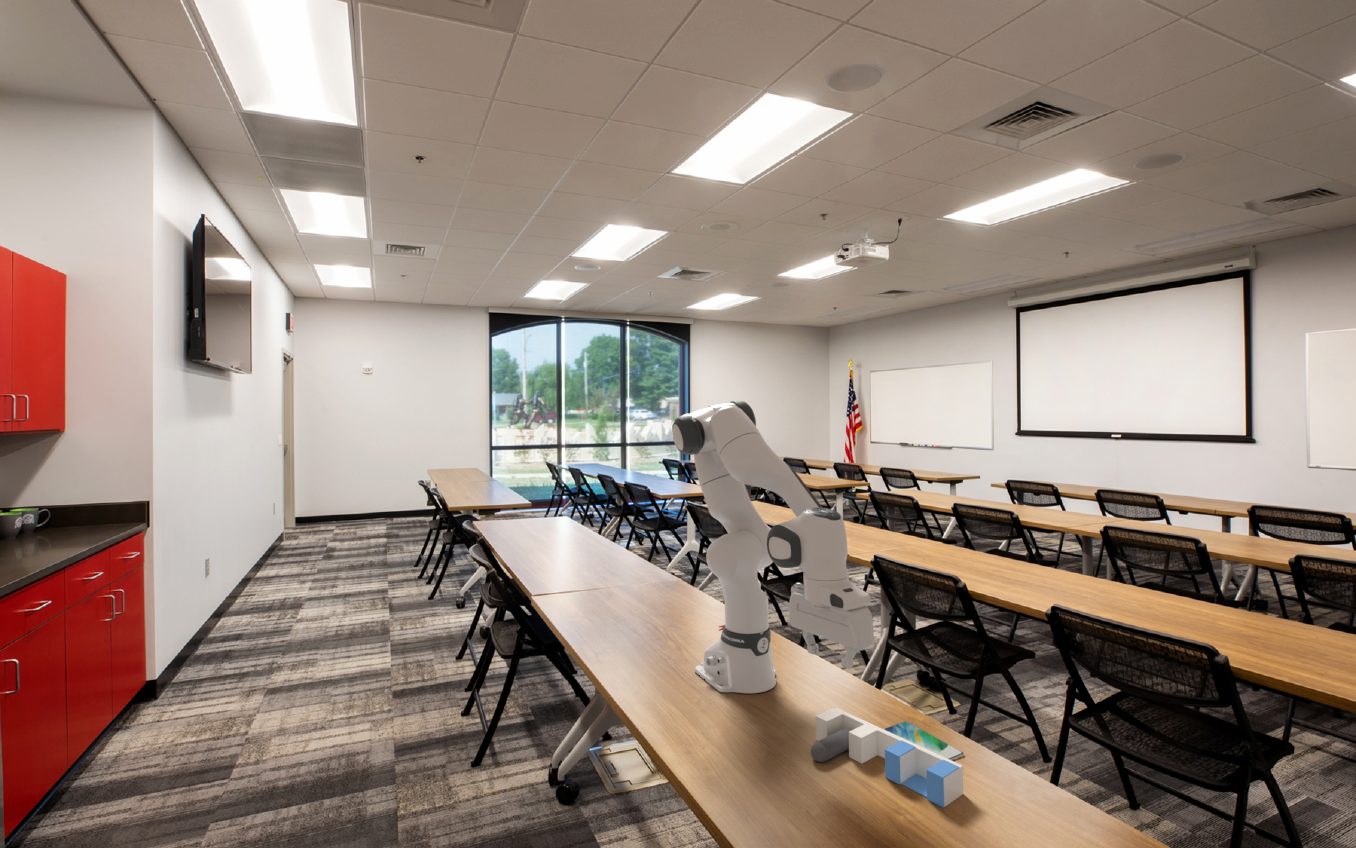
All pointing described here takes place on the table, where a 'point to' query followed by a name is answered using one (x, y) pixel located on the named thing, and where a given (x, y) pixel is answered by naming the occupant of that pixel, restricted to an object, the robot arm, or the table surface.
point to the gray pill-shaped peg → (831, 746)
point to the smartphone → (925, 740)
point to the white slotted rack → (896, 757)
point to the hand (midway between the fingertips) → (829, 659)
